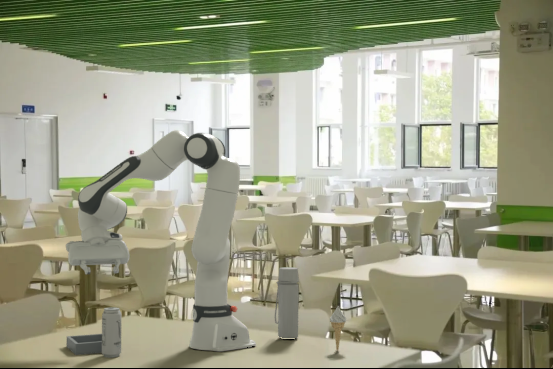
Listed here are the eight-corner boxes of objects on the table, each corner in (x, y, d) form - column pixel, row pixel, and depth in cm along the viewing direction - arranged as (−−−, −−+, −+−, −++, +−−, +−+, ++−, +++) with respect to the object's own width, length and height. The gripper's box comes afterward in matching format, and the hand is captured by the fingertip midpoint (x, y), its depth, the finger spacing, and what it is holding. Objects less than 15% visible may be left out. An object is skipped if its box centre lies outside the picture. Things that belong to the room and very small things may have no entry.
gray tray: (108, 343, 272) (108, 333, 272) (118, 351, 260) (118, 340, 260) (66, 346, 266) (66, 336, 266) (75, 354, 254) (75, 343, 254)
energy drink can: (118, 358, 250) (119, 310, 250) (99, 357, 250) (100, 309, 250) (122, 354, 256) (123, 307, 256) (104, 353, 256) (104, 307, 256)
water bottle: (302, 337, 286) (303, 267, 286) (291, 341, 279) (291, 269, 279) (280, 335, 290) (281, 266, 290) (269, 338, 284) (269, 268, 284)
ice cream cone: (336, 348, 268) (337, 303, 268) (349, 350, 264) (349, 305, 264) (325, 350, 264) (326, 305, 264) (338, 353, 260) (338, 307, 260)
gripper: (66, 235, 266) (72, 267, 257) (126, 234, 275) (134, 265, 266) (63, 247, 270) (69, 279, 261) (122, 246, 279) (130, 277, 270)
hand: (102, 272), depth 264 cm, fingers open, 8 cm apart
